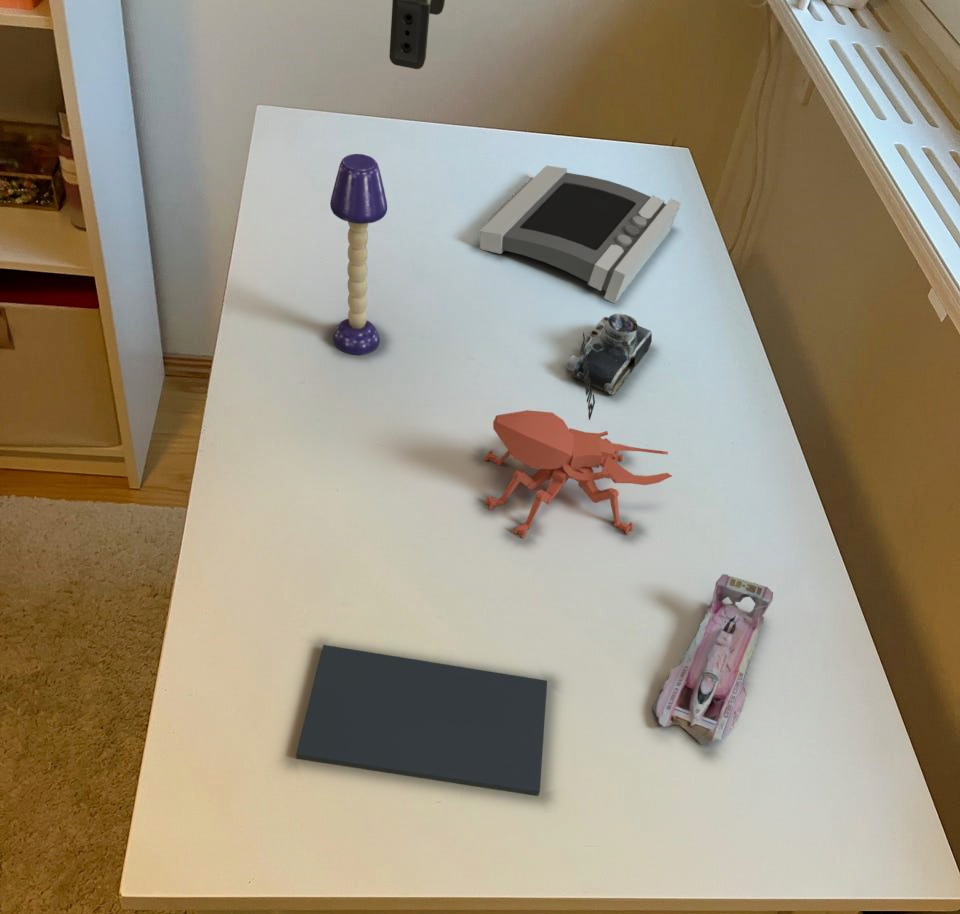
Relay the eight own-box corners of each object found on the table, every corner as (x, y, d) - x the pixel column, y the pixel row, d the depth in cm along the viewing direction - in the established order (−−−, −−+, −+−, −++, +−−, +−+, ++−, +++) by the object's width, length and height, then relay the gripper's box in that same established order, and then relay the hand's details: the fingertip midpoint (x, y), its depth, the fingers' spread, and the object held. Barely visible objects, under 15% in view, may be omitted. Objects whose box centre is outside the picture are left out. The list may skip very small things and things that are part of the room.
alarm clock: (625, 274, 98) (481, 204, 100) (610, 313, 102) (472, 245, 104) (681, 203, 108) (549, 140, 110) (666, 240, 112) (539, 179, 114)
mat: (296, 758, 65) (296, 753, 64) (323, 649, 70) (323, 644, 70) (538, 796, 65) (539, 791, 65) (545, 685, 71) (547, 680, 70)
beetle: (483, 535, 79) (509, 411, 69) (481, 431, 86) (504, 305, 76) (666, 551, 81) (716, 432, 71) (648, 447, 88) (692, 327, 78)
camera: (560, 378, 92) (569, 340, 89) (606, 327, 98) (616, 289, 95) (609, 401, 91) (620, 363, 88) (652, 347, 97) (664, 310, 94)
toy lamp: (321, 347, 90) (323, 168, 77) (336, 318, 93) (341, 141, 80) (371, 360, 90) (382, 183, 77) (386, 331, 93) (398, 155, 80)
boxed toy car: (722, 757, 69) (743, 726, 66) (648, 723, 70) (666, 691, 67) (766, 628, 77) (787, 595, 74) (700, 598, 78) (718, 564, 75)
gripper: (395, -334, 57) (380, -15, 69) (346, -280, 48) (339, 73, 61) (524, -306, 57) (485, 6, 70) (499, -248, 48) (459, 96, 61)
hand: (417, 37), depth 65 cm, fingers open, 8 cm apart
